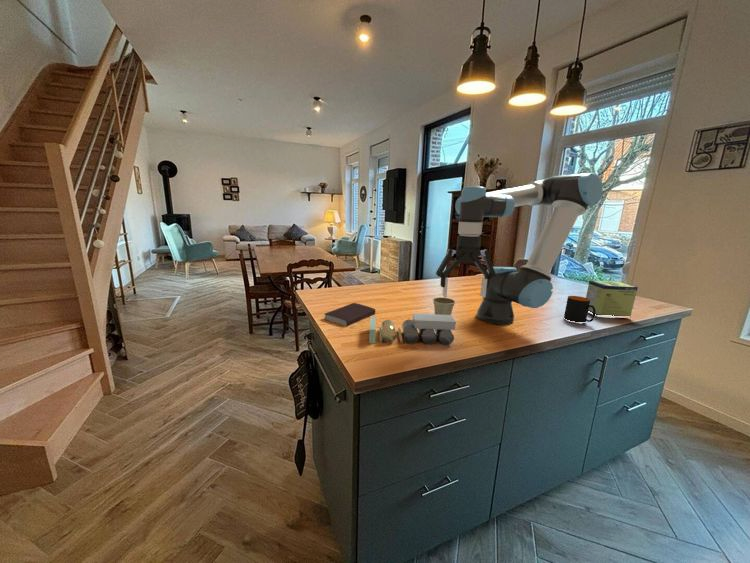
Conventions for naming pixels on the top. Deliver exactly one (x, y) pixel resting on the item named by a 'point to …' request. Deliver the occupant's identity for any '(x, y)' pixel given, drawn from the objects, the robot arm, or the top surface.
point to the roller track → (422, 334)
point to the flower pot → (443, 305)
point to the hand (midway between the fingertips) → (463, 296)
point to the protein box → (611, 297)
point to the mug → (578, 309)
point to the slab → (433, 321)
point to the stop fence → (372, 329)
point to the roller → (388, 331)
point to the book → (349, 314)
